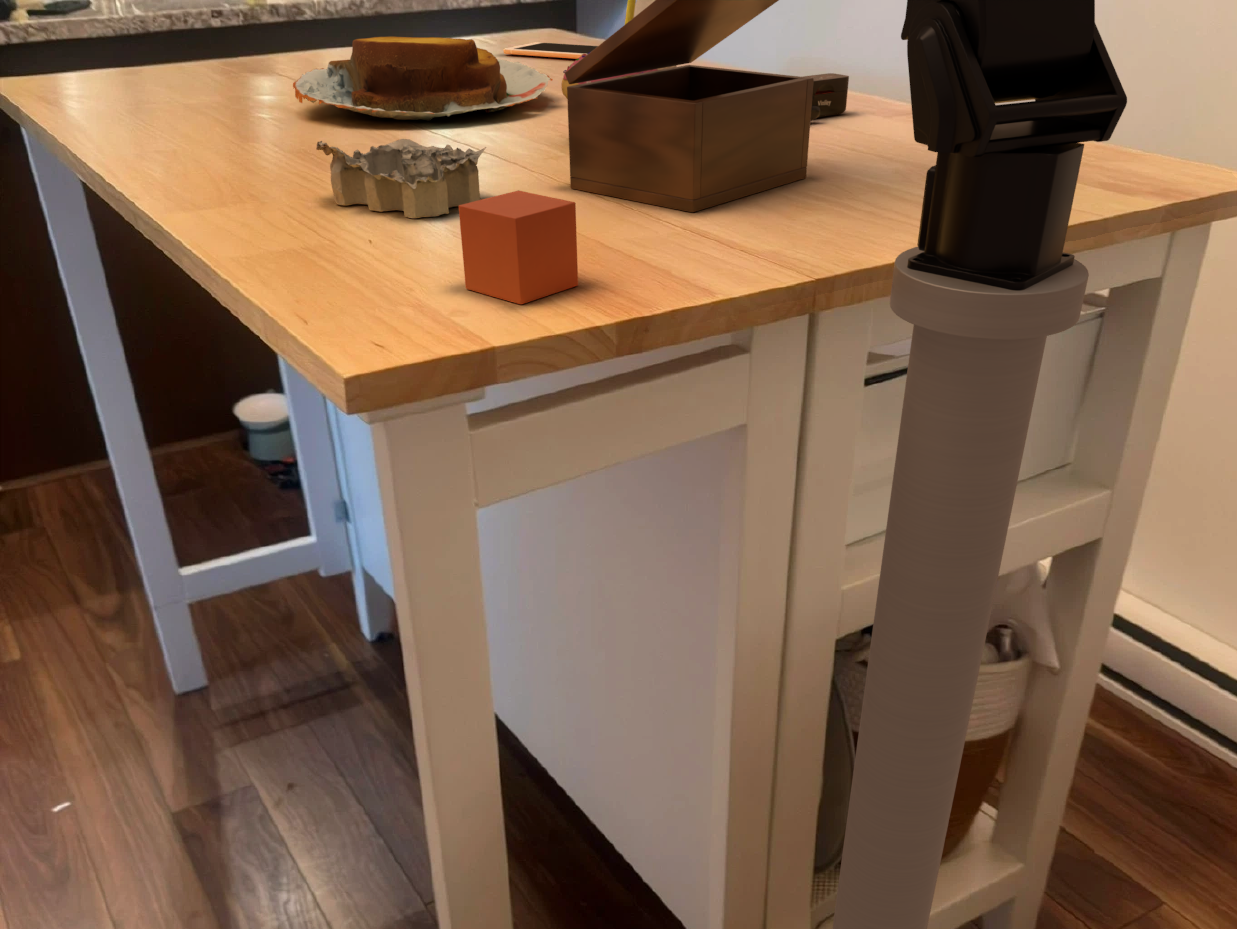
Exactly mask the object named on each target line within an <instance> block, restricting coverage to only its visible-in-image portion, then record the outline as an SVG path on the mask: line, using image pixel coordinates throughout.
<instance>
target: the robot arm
mask: <svg viewBox="0 0 1237 929" xmlns="http://www.w3.org/2000/svg"><path fill="white" fill-rule="evenodd" d="M900 39H901V40H902V41H907V42H906V55H907V68H908V69H907V70H908V79H909V92H910V104H911V115H912V116H911V117H912V129H913V139H914V142H915V143H918V144H922V145H923V146H927V151H930V152H934V153H936V162H935V164H934V165H932V166H930V167H929V168H928V169H927V171H926V176H925V184H924V189H923V190H924V192H923V197H922V206H921V214H920V220H919V228H918V229H919V230H918V236H917V244H916V247H918V248H919V250H921V251H924V252H922V253H920V254H918V255H915V256H913V257H911V258H909V259H908V265H907V268H909V269H912V270H917V271H922V272H926V273H931V274H936V275H941V276H946V277H951V278H956V279H960V280H965V281H970V282H975V283H980V284H985V285H989V286H994V287H999V288H1004V289H1009V290H1016V291H1019V290H1025V289H1027V288H1029V287H1031V286H1032V285H1034V284H1036V283H1038V282H1040V281H1042V280H1044V279H1046V278H1048V277H1050V276H1052V275H1054V274H1056V273H1058V272H1060V271H1062V270H1064V269H1065V268H1067V267H1069V266H1071V265H1073V262H1074V259H1076V258H1075V257H1076V256H1075V255H1074V254H1073V253H1068V252H1064V249H1065V243H1066V238H1067V233H1068V228H1069V224H1070V218H1071V213H1072V208H1073V203H1074V199H1075V193H1076V189H1077V183H1078V179H1079V173H1080V169H1081V165H1082V164H1081V163H1082V160H1083V154H1084V150H1085V143H1086V142H1096V143H1101V142H1108V141H1109V140H1111V138H1112V135H1113V134H1114V132H1115V129H1116V128H1117V126H1118V123H1119V121H1120V119H1121V117H1122V116H1123V113H1124V111H1125V109H1126V107H1127V104H1128V97H1127V94H1126V92H1125V90H1124V87H1123V85H1122V83H1121V80H1120V78H1119V75H1118V72H1117V71H1116V69H1115V66H1114V64H1113V61H1112V59H1111V57H1110V54H1109V52H1108V50H1107V46H1106V45H1105V43H1104V40H1103V38H1102V35H1101V33H1100V31H1099V29H1098V26H1097V24H1096V0H906V8H905V18H904V21H903V26H902V29H901V32H900Z"/></svg>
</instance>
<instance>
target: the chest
mask: <svg viewBox="0 0 1237 929" xmlns="http://www.w3.org/2000/svg"><path fill="white" fill-rule="evenodd" d="M813 80H814V78H808V77H803V76H798V75H788V74H781V73H780V74H778V73H770V72H760V71H752V70H741V69H732V68H724V67H723V68H722V67H715V66H714V67H713V66H705V65H695V64H684V65H678V66H677V67H674V68H668V69H663V70H657V71H652V72H646V73H640V74H635V75H629V76H624V77H618V78H613V79H607V80H602V81H596V82H590V83H585V84H579V85H573V86H568V87H567V98H566V99H567V100H566V101H567V124H568V127H567V128H568V152H569V153H568V155H569V157H568V158H569V177H570V178H569V180H570V181H569V185H570V189H572V190H577V191H582V192H587V193H593V194H598V195H602V196H607V197H613V198H618V199H623V200H628V201H633V202H638V203H642V204H647V205H653V206H658V207H664V208H668V209H673V210H677V211H684V212H688V213H695V212H699V211H702V210H706V209H709V208H712V207H715V206H718V205H722V204H725V203H729V202H732V201H735V200H738V199H742V198H745V197H748V196H751V195H754V194H758V193H761V192H765V191H768V190H771V189H775V188H777V187H782V186H784V185H787V184H790V183H794V182H797V181H800V180H804V179H806V178H807V171H808V160H809V148H810V134H811V121H812V120H811V107H812V94H813Z"/></svg>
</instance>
